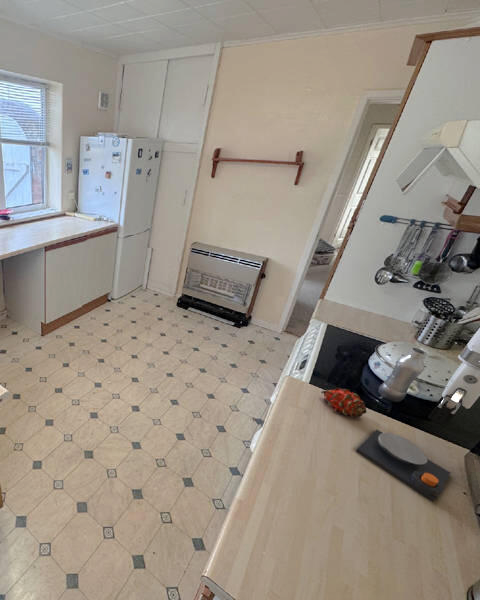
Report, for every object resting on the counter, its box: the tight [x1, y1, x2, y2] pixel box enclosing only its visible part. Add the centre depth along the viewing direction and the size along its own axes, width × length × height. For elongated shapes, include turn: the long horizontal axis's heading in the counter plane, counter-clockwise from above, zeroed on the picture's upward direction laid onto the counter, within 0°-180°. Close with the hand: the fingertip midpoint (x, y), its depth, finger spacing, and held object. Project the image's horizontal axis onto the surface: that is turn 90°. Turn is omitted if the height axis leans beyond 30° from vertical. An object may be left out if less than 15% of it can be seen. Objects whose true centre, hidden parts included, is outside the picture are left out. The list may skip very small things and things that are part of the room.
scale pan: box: [378, 432, 428, 466], centre depth 87 cm, size 10×10×1 cm
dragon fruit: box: [320, 387, 367, 419], centre depth 103 cm, size 8×8×12 cm
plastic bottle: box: [377, 347, 428, 403], centre depth 108 cm, size 6×7×20 cm
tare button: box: [421, 473, 439, 487], centre depth 79 cm, size 3×3×2 cm
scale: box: [355, 429, 452, 503], centre depth 86 cm, size 16×14×4 cm
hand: (440, 414), depth 81 cm, fingers open, 9 cm apart
